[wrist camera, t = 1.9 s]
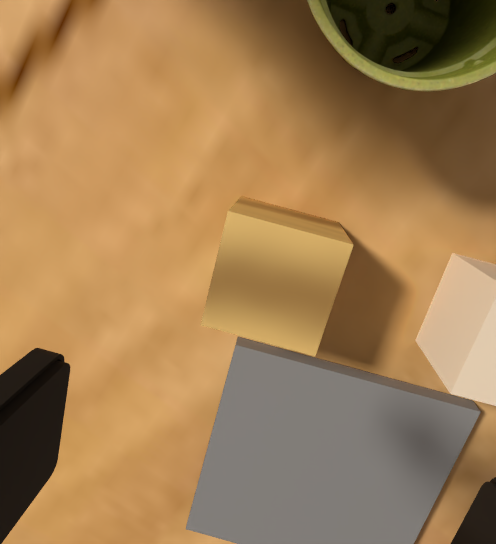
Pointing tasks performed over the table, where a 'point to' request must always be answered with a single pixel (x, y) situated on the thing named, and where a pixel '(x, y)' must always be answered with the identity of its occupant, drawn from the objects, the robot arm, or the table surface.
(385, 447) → the plate
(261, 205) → the mustard block
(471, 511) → the robot arm
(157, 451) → the table surface
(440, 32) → the plant pot
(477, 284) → the cream block
